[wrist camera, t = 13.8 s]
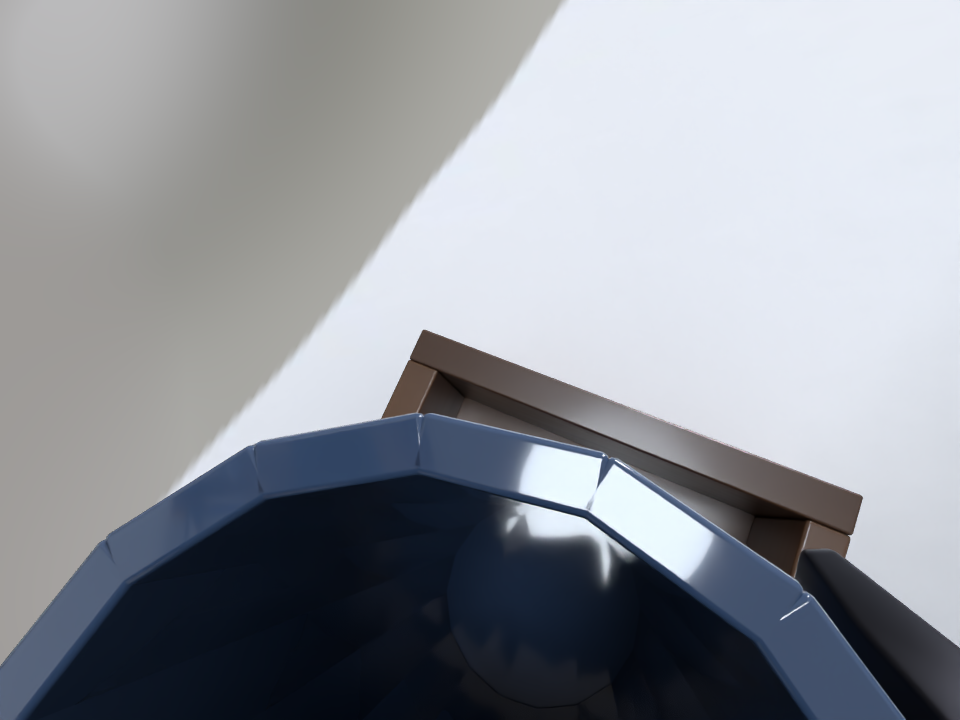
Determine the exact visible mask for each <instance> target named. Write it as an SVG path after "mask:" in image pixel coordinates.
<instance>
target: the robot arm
mask: <svg viewBox="0 0 960 720" xmlns="http://www.w3.org/2000/svg"><path fill="white" fill-rule="evenodd" d="M795 580H797V581H798V582H799V583H800V585H801V586H802V587H803V590H804V591H807V592H808V593H809V594H811V595H812V596H814V597H815V599H816V600H817V601H818V603H819V604H820V605H821V607H822V608H823V609H824V611H825V612H826V613H827V615H828V616H829V617H830V619H831V620H832V621H833V623H834V624H835V625H836V627H837V628H838V629H839V631H840V632H841V633H842V635H843V636H844V637H845V639H846V640H847V641H848V643H849V644H850V645H851V647H852V648H853V649H854V651H855V652H856V653H857V655H858V656H859V657H860V659H861V660H862V661H863V663H864V664H865V665H866V667H867V668H868V669H869V671H870V672H871V673H872V675H873V676H874V677H875V679H876V680H877V681H878V683H879V684H880V685H881V687H882V688H883V689H884V691H885V692H886V693H887V695H888V696H889V697H890V699H891V700H892V701H893V703H894V704H895V705H896V707H897V708H898V709H899V711H900V712H901V713H902V715H903V716H904V717H905V719H906V720H960V648H959V647H958V646H956V645H955V644H954V643H953V642H951V641H950V640H949V639H947V638H946V637H945V636H944V635H942V634H941V633H940V632H939V631H937V630H936V629H935V628H933V627H932V626H931V625H930V624H928V623H927V622H926V621H924V620H923V619H922V618H921V617H919V616H918V615H917V614H915V613H914V612H913V611H912V610H910V609H909V608H908V607H906V606H905V605H904V604H903V603H901V602H900V601H899V600H897V599H896V598H895V597H894V596H892V595H891V594H890V593H889V592H887V591H886V590H885V589H883V588H882V587H881V586H880V585H878V584H877V583H876V582H874V581H873V580H872V579H871V578H869V577H868V576H867V575H865V574H864V573H863V572H862V571H860V570H859V569H858V568H856V567H855V566H854V565H853V564H851V563H850V562H849V561H847V560H846V559H845V558H844V557H842V556H841V555H840V554H838V553H837V552H835V551H833V550H831V549H805V550H803V551H802V552H801V553H800V555H799V559H798V564H797V569H796V574H795Z"/></svg>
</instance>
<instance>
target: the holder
mask: <svg viewBox="0 0 960 720" xmlns="http://www.w3.org/2000/svg"><path fill="white" fill-rule="evenodd" d="M410 359H411V360H409V361H408V363H407V365H406V367H405V369H404V371H403V373H402V375H401V378H400V380H399V382H398V384H397V386H396V388H395V390H394V392H393V395H392V397H391V399H390V401H389V403H388V405H387V407H386V409H385V412H384V414H383V416H382V418H381V419H384V418H389V417H395V416H400V415H406V414H411V413H421V414H424V415H425V414H428V413H434V414H439V415H443V416H448V417H452V418H456V419H461V420H465V421H470V422H474V423H478V424H483V425H487V426H492V427H496V428H500V429H505V430H509V431H514V432H518V433H522V434H527V435H531V436H535V437H540V438H544V439H549V440H553V441H557V442H562V443H566V444H571V445H575V446H579V447H584V448H588V449H593V450H597V451H601V452H604V453H605V454H606V455H608V458H611V457H613V458H618V459H619V460H621V461H622V462H624V463H625V464H627V465H628V466H630V467H631V468H633V469H634V470H636V471H637V472H639V473H640V474H641V475H643V476H644V477H646V478H647V479H649V480H650V481H652V482H653V483H655V484H656V485H658V486H659V487H661V488H662V489H663V490H665V491H666V492H668V493H669V494H671V495H672V496H674V497H675V498H677V499H678V500H680V501H681V502H683V503H684V504H685V505H687V506H688V507H690V508H691V509H693V510H694V511H696V512H697V513H699V514H700V515H702V516H703V517H705V518H706V519H707V520H709V521H710V522H712V523H713V524H715V525H716V526H718V527H719V528H721V529H722V530H724V531H725V532H727V533H728V534H729V535H731V536H732V537H734V538H735V539H737V540H738V541H740V542H741V543H743V544H744V545H746V546H747V547H749V548H750V549H751V550H753V551H754V552H756V553H757V554H759V555H760V556H762V557H763V558H765V559H766V560H768V561H769V562H771V563H772V564H773V565H775V566H776V567H778V568H779V569H781V570H782V571H784V572H785V573H787V574H788V575H790V576H791V577H793V578H794V579H795V574H796V569H797V564H798V559H799V555H800V553H801V552H802V551H803V550H805V549H831V550H833V551H835V552H837V553H838V554H840V555H841V556H842V557H844V558H845V557H846V554H847V550H848V546H849V543H850V537H849V536H848V535H852V534H853V531H854V528H855V524H856V521H857V517H858V513H859V510H860V506H861V503H862V499H863V497H862V496H861V495H859V494H857V493H854V492H851V491H849V490H846V489H844V488H841V487H838V486H836V485H833V484H830V483H828V482H825V481H822V480H820V479H817V478H815V477H812V476H809V475H807V474H804V473H801V472H799V471H796V470H793V469H791V468H788V467H786V466H783V465H780V464H778V463H775V462H772V461H770V460H767V459H764V458H762V457H759V456H757V455H754V454H751V453H749V452H746V451H743V450H741V449H738V448H735V447H733V446H730V445H728V444H725V443H722V442H720V441H717V440H714V439H712V438H709V437H706V436H704V435H701V434H699V433H696V432H693V431H691V430H688V429H685V428H683V427H680V426H677V425H675V424H672V423H670V422H667V421H664V420H662V419H659V418H656V417H654V416H651V415H648V414H646V413H643V412H641V411H638V410H635V409H633V408H630V407H627V406H625V405H622V404H620V403H617V402H614V401H612V400H609V399H606V398H604V397H601V396H598V395H596V394H593V393H591V392H588V391H585V390H583V389H580V388H577V387H575V386H572V385H569V384H567V383H564V382H562V381H559V380H556V379H554V378H551V377H548V376H546V375H543V374H540V373H538V372H535V371H533V370H530V369H527V368H525V367H522V366H519V365H517V364H514V363H511V362H509V361H506V360H504V359H501V358H498V357H496V356H493V355H490V354H488V353H485V352H482V351H480V350H477V349H475V348H472V347H469V346H467V345H464V344H461V343H459V342H456V341H453V340H451V339H448V338H446V337H443V336H440V335H438V334H435V333H432V332H430V331H427V330H423V331H422V333H421V335H420V337H419V339H418V341H417V343H416V346H415V348H414V350H413V352H412V354H411V356H410Z"/></svg>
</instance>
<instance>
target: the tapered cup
mask: <svg viewBox="0 0 960 720" xmlns="http://www.w3.org/2000/svg"><path fill="white" fill-rule="evenodd" d="M0 720H906V719H905V717H904V716H903V715H902V713H901V712H900V711H899V709H898V708H897V707H896V705H895V704H894V703H893V701H892V700H891V699H890V697H889V696H888V695H887V693H886V692H885V691H884V689H883V688H882V687H881V685H880V684H879V683H878V681H877V680H876V679H875V677H874V676H873V675H872V673H871V672H870V671H869V669H868V668H867V667H866V665H865V664H864V663H863V661H862V660H861V659H860V657H859V656H858V655H857V653H856V652H855V651H854V649H853V648H852V647H851V645H850V644H849V643H848V641H847V640H846V639H845V637H844V636H843V635H842V633H841V632H840V631H839V629H838V628H837V627H836V625H835V624H834V623H833V621H832V620H831V619H830V617H829V616H828V615H827V613H826V612H825V611H824V609H823V608H822V607H821V605H820V604H819V603H818V601H817V600H816V599H815V597H814V596H812V595H811V594H809V593H808V592H807V591H804V590H803V587H802V586H801V585H800V583H799V582H798V581H797V580H795V579H794V578H793V577H791V576H790V575H788V574H787V573H785V572H784V571H782V570H781V569H779V568H778V567H776V566H775V565H773V564H772V563H771V562H769V561H768V560H766V559H765V558H763V557H762V556H760V555H759V554H757V553H756V552H754V551H753V550H751V549H750V548H749V547H747V546H746V545H744V544H743V543H741V542H740V541H738V540H737V539H735V538H734V537H732V536H731V535H729V534H728V533H727V532H725V531H724V530H722V529H721V528H719V527H718V526H716V525H715V524H713V523H712V522H710V521H709V520H707V519H706V518H705V517H703V516H702V515H700V514H699V513H697V512H696V511H694V510H693V509H691V508H690V507H688V506H687V505H685V504H684V503H683V502H681V501H680V500H678V499H677V498H675V497H674V496H672V495H671V494H669V493H668V492H666V491H665V490H663V489H662V488H661V487H659V486H658V485H656V484H655V483H653V482H652V481H650V480H649V479H647V478H646V477H644V476H643V475H641V474H640V473H639V472H637V471H636V470H634V469H633V468H631V467H630V466H628V465H627V464H625V463H624V462H622V461H621V460H619V459H618V458H613V457H611V458H608V455H606V454H605V453H604V452H601V451H597V450H593V449H588V448H584V447H579V446H575V445H571V444H566V443H562V442H557V441H553V440H549V439H544V438H540V437H535V436H531V435H527V434H522V433H518V432H514V431H509V430H505V429H500V428H496V427H492V426H487V425H483V424H478V423H474V422H470V421H465V420H461V419H456V418H452V417H448V416H443V415H439V414H434V413H428V414H425V415H424V414H421V413H411V414H406V415H400V416H395V417H389V418H384V419H378V420H373V421H367V422H362V423H356V424H351V425H345V426H340V427H334V428H329V429H323V430H318V431H312V432H307V433H301V434H296V435H290V436H285V437H279V438H274V439H268V440H263V441H260V442H258V443H256V444H255V445H251V446H247V447H246V448H244V449H243V450H241V451H239V452H238V453H236V454H235V455H233V456H232V457H230V458H228V459H227V460H225V461H224V462H222V463H220V464H219V465H217V466H216V467H214V468H213V469H211V470H209V471H208V472H206V473H205V474H203V475H201V476H200V477H198V478H197V479H195V480H194V481H192V482H190V483H189V484H187V485H186V486H184V487H183V488H181V489H179V490H178V491H176V492H175V493H173V494H171V495H170V496H168V497H167V498H165V499H164V500H162V501H160V502H159V503H157V504H156V505H154V506H153V507H151V508H149V509H148V510H146V511H145V512H143V513H142V514H140V515H138V516H137V517H135V518H134V519H132V520H130V521H129V522H127V523H126V524H124V525H122V526H121V527H119V528H118V529H116V530H115V531H113V532H112V533H110V534H109V535H108V536H107V537H106V539H105V540H103V541H101V542H100V543H99V544H98V545H97V546H96V547H95V548H94V550H93V551H92V552H91V553H90V555H89V556H88V557H87V558H86V560H85V561H84V562H83V563H82V565H81V566H80V567H79V568H78V570H77V571H76V572H75V573H74V575H73V576H72V577H71V578H70V579H69V581H68V582H67V583H66V585H65V586H64V587H63V588H62V589H61V591H60V592H59V593H58V595H57V596H56V597H55V598H54V600H53V601H52V602H51V603H50V604H49V606H48V607H47V608H46V610H45V611H44V612H43V613H42V615H41V616H40V617H39V618H38V620H37V621H36V622H35V623H34V625H33V626H32V627H31V628H30V630H29V631H28V632H27V633H26V635H25V636H24V637H23V638H22V639H21V641H20V642H19V643H18V644H17V646H16V647H15V648H14V649H13V651H12V652H11V653H10V654H9V656H8V657H7V658H6V659H5V661H4V662H3V663H2V664H1V666H0Z"/></svg>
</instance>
